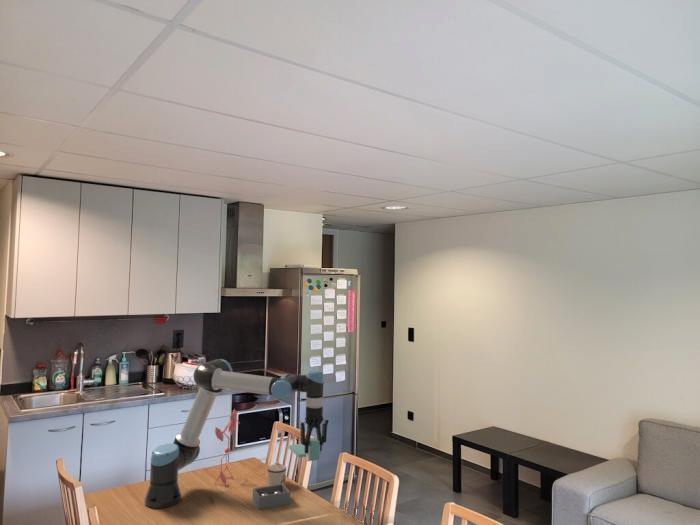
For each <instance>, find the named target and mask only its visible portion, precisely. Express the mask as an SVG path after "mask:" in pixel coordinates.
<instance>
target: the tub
mask: <svg viewBox="0 0 700 525" xmlns="http://www.w3.org/2000/svg"><path fill="white" fill-rule="evenodd" d="M275 491H281V493H277V494H274V492H275ZM262 493H268V495H265V496H261V494H262ZM290 498H291V491H290V490H289V489H288V488H287V486H286V485H285V486H284V485H283V484H278V485H272V486H261V487H260V486H259V487H255V488H252V502H253V504H254V505H255V507H256V508H257V510H258V511H260V510H265V509H271V508H276V507H281V506H288V505H290V504H291V502H290V501H291V500H290Z"/></svg>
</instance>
